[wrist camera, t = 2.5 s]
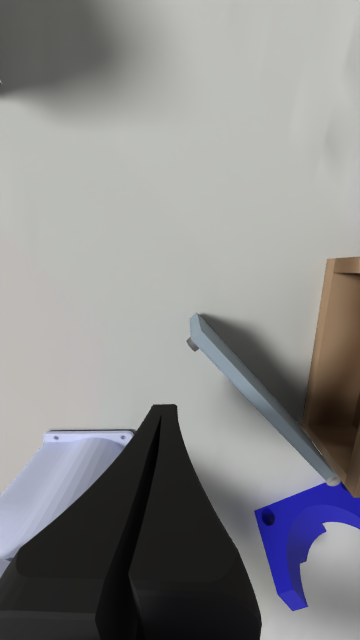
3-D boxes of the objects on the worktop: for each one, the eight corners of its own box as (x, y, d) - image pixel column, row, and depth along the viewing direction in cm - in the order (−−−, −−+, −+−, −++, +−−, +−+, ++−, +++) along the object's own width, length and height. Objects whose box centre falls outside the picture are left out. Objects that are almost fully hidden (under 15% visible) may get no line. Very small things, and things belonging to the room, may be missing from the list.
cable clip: (271, 531, 23) (299, 618, 17) (253, 509, 22) (277, 594, 16) (368, 495, 21) (437, 581, 15) (353, 469, 20) (420, 550, 14)
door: (288, 436, 18) (322, 492, 14) (182, 324, 16) (181, 348, 11) (303, 427, 18) (343, 481, 13) (197, 311, 15) (202, 330, 11)
